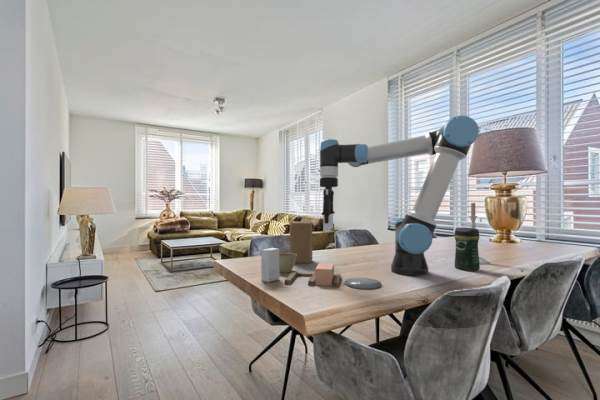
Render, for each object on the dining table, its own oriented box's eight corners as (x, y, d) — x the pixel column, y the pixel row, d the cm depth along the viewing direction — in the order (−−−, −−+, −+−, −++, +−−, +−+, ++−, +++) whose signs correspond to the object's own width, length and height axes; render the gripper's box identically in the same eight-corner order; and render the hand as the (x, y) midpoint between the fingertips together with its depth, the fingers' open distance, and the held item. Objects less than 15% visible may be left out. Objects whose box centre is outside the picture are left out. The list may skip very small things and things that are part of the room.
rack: (340, 277, 121) (340, 273, 121) (338, 287, 107) (338, 282, 107) (292, 275, 125) (292, 271, 125) (284, 284, 111) (284, 280, 111)
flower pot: (269, 272, 130) (269, 255, 130) (280, 267, 139) (280, 252, 139) (291, 274, 126) (291, 257, 126) (300, 269, 135) (300, 253, 135)
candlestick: (494, 264, 146) (493, 202, 146) (467, 264, 146) (467, 202, 146) (478, 259, 159) (478, 202, 159) (454, 259, 159) (454, 202, 159)
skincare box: (271, 277, 121) (271, 247, 121) (280, 279, 118) (280, 248, 118) (260, 280, 116) (260, 249, 116) (268, 282, 113) (268, 250, 113)
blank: (334, 279, 119) (334, 263, 119) (331, 286, 109) (331, 269, 109) (318, 278, 120) (318, 263, 120) (315, 285, 111) (315, 268, 111)
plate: (379, 280, 116) (379, 278, 116) (382, 290, 104) (382, 287, 104) (345, 278, 119) (345, 276, 119) (343, 288, 106) (343, 285, 106)
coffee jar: (483, 270, 133) (483, 228, 133) (470, 272, 129) (470, 228, 130) (463, 266, 142) (463, 226, 142) (451, 267, 138) (451, 227, 138)
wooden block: (309, 264, 146) (309, 222, 147) (289, 263, 148) (289, 222, 149) (312, 260, 156) (312, 221, 156) (293, 259, 158) (293, 221, 158)
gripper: (323, 179, 138) (322, 227, 138) (315, 175, 115) (315, 232, 115) (339, 179, 137) (339, 227, 136) (335, 175, 113) (335, 233, 113)
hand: (328, 230), depth 126 cm, fingers open, 11 cm apart
